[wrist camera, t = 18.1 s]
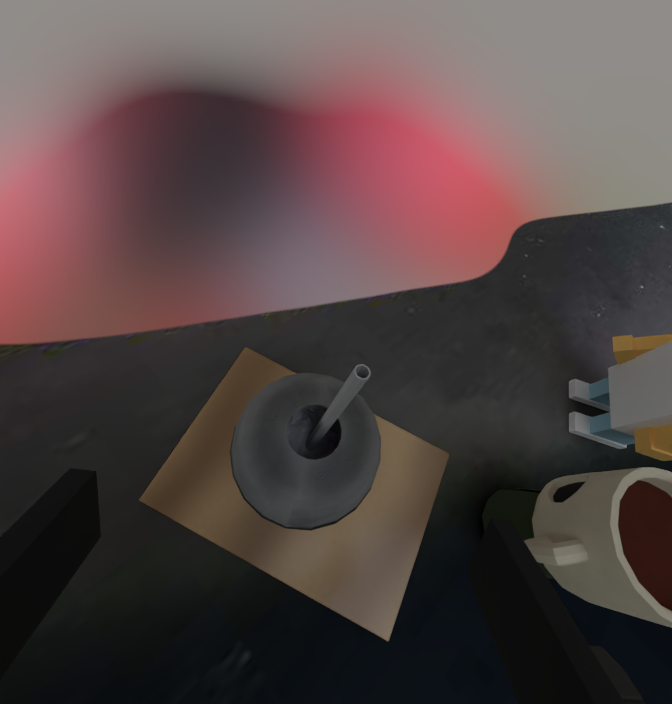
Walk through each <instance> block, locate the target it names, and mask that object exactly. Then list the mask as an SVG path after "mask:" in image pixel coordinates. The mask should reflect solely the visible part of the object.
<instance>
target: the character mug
mask: <svg viewBox="0 0 672 704" xmlns="http://www.w3.org/2000/svg"><path fill="white" fill-rule="evenodd" d="M517 489H520V490H522V491H519V490H503V489H502V490H498V491H497V492H496V493H494V494H493V495H492V496H491V497H490V498H489V499H488V500H487V503H486V506H485V509H484V512H483V514H482V519H483V526H484V532H485V530H486V528H487V525H488V523H489V521H490V519H491V518H494V519H502V520H511V521H512V523H513V524H514V526H515V527H516V529H517V531H518V532H519V534H520V535H521V537H522V539H523V540H524V542H525V543H526V545H527V547H528V548H529V550H530V551H531V553H532V555H533V556H534V558H535V560H536V561H537V563H538V564H539V566H540V568H541V569H542V571H543V572H544V574H545V576H546V577H547V578H555V579H556V581H557V582H558V583H559V584H560V585H561V587H563V588H565V589H566V590H568V591H570V592H571V593H573V594H575V595H577V596H579V597H580V598H582V599H584V600H586V601H588V602H589V603H592V604H596V605H599V606H602V607H605V608H609V609H612V610H615V611H619V612H622V613H625V614H628V615H632V616H635V617H638V618H642V619H645V620H648V621H651V622H655V623H658V624H661V625H665V626H668V627H671V628H672V472H670V471H666V470H662V469H658V468H633V469H624V470H615V471H606V472H593V473H584V474H577V475H569V476H563V477H560V478H556V479H554V480H552V481H551V482H549V483H548V484H546V486H545V487H544V488H543V490H536V489H529V488H517Z"/></svg>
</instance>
